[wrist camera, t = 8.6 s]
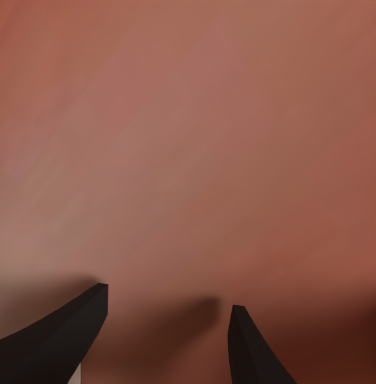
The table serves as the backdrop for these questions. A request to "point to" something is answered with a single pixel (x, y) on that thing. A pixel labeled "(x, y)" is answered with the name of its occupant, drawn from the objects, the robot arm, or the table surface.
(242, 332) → the robot arm
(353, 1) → the table surface
